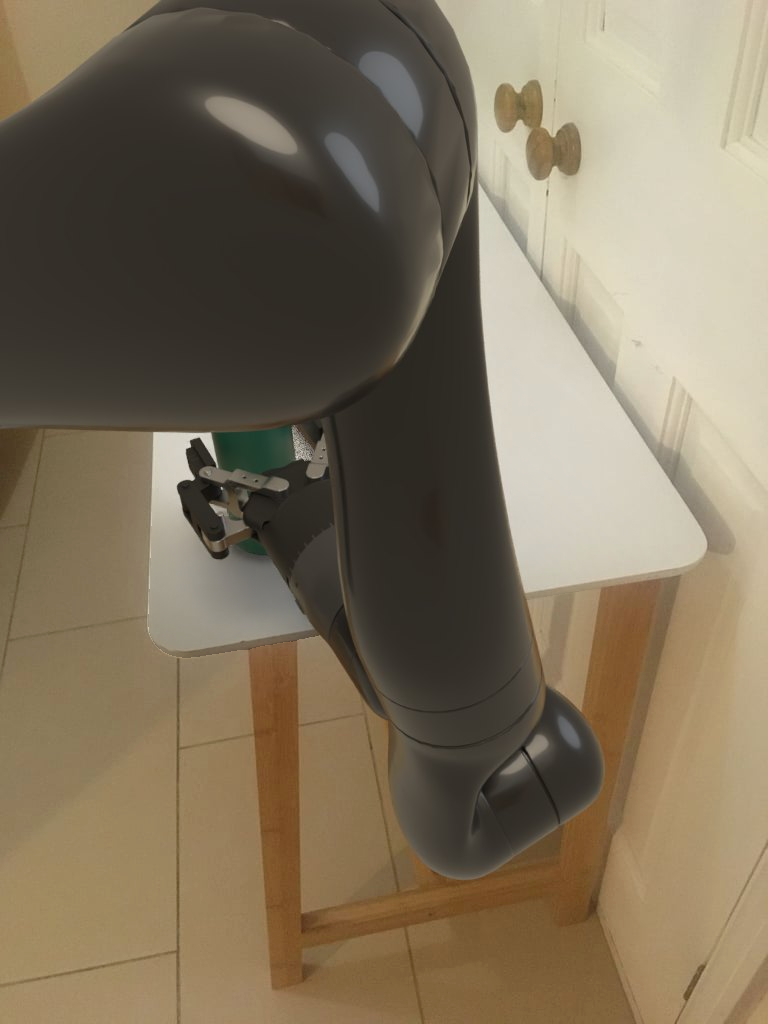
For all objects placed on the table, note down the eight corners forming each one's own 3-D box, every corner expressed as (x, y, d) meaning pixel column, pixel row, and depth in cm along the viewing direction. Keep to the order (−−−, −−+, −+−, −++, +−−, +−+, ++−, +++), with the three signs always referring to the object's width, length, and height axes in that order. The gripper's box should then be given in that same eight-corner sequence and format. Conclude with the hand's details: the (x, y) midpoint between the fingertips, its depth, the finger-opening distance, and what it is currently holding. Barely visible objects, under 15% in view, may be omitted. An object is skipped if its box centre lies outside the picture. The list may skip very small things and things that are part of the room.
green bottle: (220, 547, 70) (177, 354, 58) (249, 499, 74) (215, 310, 62) (288, 560, 69) (259, 366, 56) (314, 511, 73) (292, 321, 60)
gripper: (447, 484, 54) (333, 359, 64) (231, 567, 49) (146, 418, 60) (445, 568, 59) (339, 439, 70) (249, 651, 54) (168, 499, 65)
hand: (250, 430), depth 65 cm, fingers open, 8 cm apart
